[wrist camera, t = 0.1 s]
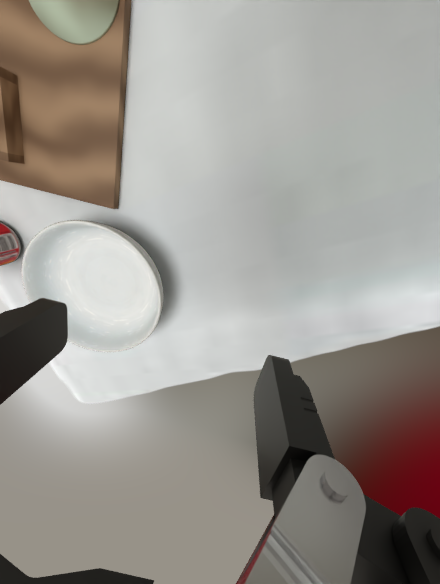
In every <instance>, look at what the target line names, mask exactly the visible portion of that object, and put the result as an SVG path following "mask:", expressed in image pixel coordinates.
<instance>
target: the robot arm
mask: <svg viewBox="0 0 440 584" xmlns="http://www.w3.org/2000/svg"><path fill="white" fill-rule="evenodd" d="M67 339H68V318H67V306H66V304H65V303H62V302H58V301H54V300H50V299H46V298H40V299H38V300H36V301H34V302H32V303H30V304H28V305H26V306H24V307H20V308H17V309H13V310H9V311H5V312H3V313H1V314H0V404H2V403H3V402H4V401H5V400H6V399H7V398H8V397H10V396H11V395H12V394H13V393H14V392H15V391H16V390H18V389H19V388H20V387H21V386H22V385H23V384H24V383H26V382H27V381H28V380H29V379H30V378H31V377H33V376H34V375H35V374H36V373H37V372H38V371H39V370H40V369H41V368H43V367H44V366H45V365H46V364H47V363H49V362H50V361H51V360H52V359H53V358H54V357H55V356H57V355H58V354H59V353H60V352H61V351H62V350H63V348H64V347H65V345H66V342H67ZM254 410H255V425H256V440H257V454H258V468H259V482H260V496H261V498H264V499H268V500H272V501H273V506H274V516H273V517H272V519H271V521H270V522H269V524H268V526H267V528H266V530H265V532H264V534H263V535H262V537H261V539H260V541H259V543H258V545H257V546H256V548H255V550H254V552H253V553H252V555H251V557H250V559H249V561H248V563H247V564H246V566H245V568H244V570H243V572H242V573H241V575H240V577H239V579H238V581H237V583H236V584H440V519H439V518H438V517H436V516H435V515H433V514H432V513H430V512H428V511H426V510H423V509H420V508H410V509H408V510H407V511H406V513H404V514H403V515H402V516H400V515H398V514H396V513H395V512H393V511H391V510H389V509H388V508H386V507H384V506H382V505H381V504H379V503H377V502H375V501H374V500H372V499H370V498H369V497H367V496H366V495H364V494H363V493H362V490H361V488H360V486H359V484H358V483H357V481H356V480H355V478H354V477H353V475H352V474H351V473H350V472H349V471H348V470H347V469H346V468H345V467H344V466H343V465H342V464H340V463H339V462H338V461H336V460H335V458H334V456H333V453H332V450H331V448H330V445H329V442H328V439H327V437H326V434H325V431H324V428H323V425H322V423H321V420H320V417H319V415H318V414H317V409H316V406H315V403H313V398H312V395H311V392H310V390H309V387H308V386H307V385H306V384H305V382H304V381H303V380H302V378H301V377H300V376H297V375H294V374H293V371H292V368H291V365H290V362H289V360H288V359H284V358H280V357H276V356H272V355H269V356H268V357H267V358H266V361H265V363H264V366H263V368H262V371H261V373H260V376H259V378H258V381H257V384H256V387H255V391H254ZM153 582H154V580H149V579H145V578H141V577H136V576H132V575H127V574H123V573H118V572H114V571H109V570H105V569H100V568H99V569H93V570H86V571H79V572H73V573H67V574H59V575H53V576H46V577H40V578H32V577H29V576H27V575H25V574H24V573H23V572H21V571H20V570H19V569H18V568H17V567H15V566H14V565H13V564H12V563H11V562H9V561H8V560H7V559H6V558H4V557H3V556H2V555H1V554H0V584H153Z"/></svg>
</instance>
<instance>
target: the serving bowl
mask: <svg viewBox="0 0 440 584" xmlns="http://www.w3.org/2000/svg"><path fill="white" fill-rule="evenodd" d="M22 281H23V286H24V289H25V292H26V295H27V297H28V300H29V302H30V303H32V302H34V301H36V300H38V299H40V298H46V299H50V300H54V301H58V302H62V303H65V304H66V306H67V318H68V339H67V341H69V342H71V343H73V344H75V345H77V346H79V347H82V348H85V349H89V350H93V351H99V352H117V351H123V350H127V349H130V348H133V347H135V346H137V345H139V344H140V343H142V342H143V341H144V340H146V339H147V338H148V337H149V336H150V335H151V333H152V332H153V331H154V329H155V327H156V326H157V323H158V321H159V318H160V315H161V312H162V307H163V286H162V281H161V277H160V274H159V272H158V270H157V267H156V265H155V264H154V262H153V260H152V259H151V257H150V256H149V254H148V253H147V252H146V251H145V250H144V249H143V248H142V246H140V245H139V244H138V243H137V242H136V241H135V240H134V239H132V238H131V237H129V236H128V235H127V234H125V233H123V232H121V231H120V230H118V229H115V228H113V227H110V226H108V225H105V224H101V223H97V222H91V221H82V220H70V221H63V222H58V223H55V224H53V225H50V226H48V227H46V228H44V229H43V230H42V231H40V232H39V233H38V234H37V235H36V236H35V237H34V238H33V239H32V240H31V241H30V243H29V244H28V246H27V248H26V250H25V253H24V256H23V260H22Z"/></svg>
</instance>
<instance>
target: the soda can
mask: <svg viewBox="0 0 440 584" xmlns="http://www.w3.org/2000/svg"><path fill="white" fill-rule="evenodd" d="M20 250H21V245H20V241H19V239H18V237H17V235H16V234H15V233H14V231H13V230H12V229H10V228H9V227H8V226H6V225H5V224H3V223H1V222H0V266H1V265H4V264H7V263H10V262H13V261H15V260H16V259H17V258H18V256H19V254H20Z"/></svg>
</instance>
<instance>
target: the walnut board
mask: <svg viewBox="0 0 440 584" xmlns="http://www.w3.org/2000/svg"><path fill="white" fill-rule="evenodd" d="M130 13H131V0H0V180H2V181H6V182H10V183H14V184H18V185H22V186H26V187H30V188H34V189H37V190H41V191H45V192H49V193H53V194H57V195H61V196H65V197H69V198H73V199H77V200H80V201H84V202H88V203H92V204H96V205H100V206H104V207H108V208H112V209H118V205H119V189H120V173H121V157H122V141H123V125H124V109H125V93H126V77H127V61H128V45H129V29H130Z"/></svg>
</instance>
